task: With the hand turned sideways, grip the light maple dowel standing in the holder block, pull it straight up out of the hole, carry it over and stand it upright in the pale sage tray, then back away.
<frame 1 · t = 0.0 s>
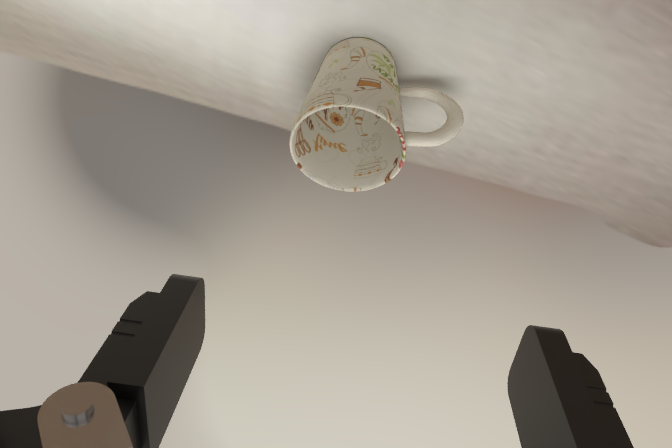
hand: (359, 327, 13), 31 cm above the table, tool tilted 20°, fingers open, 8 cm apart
mug: (385, 69, 44), on the table
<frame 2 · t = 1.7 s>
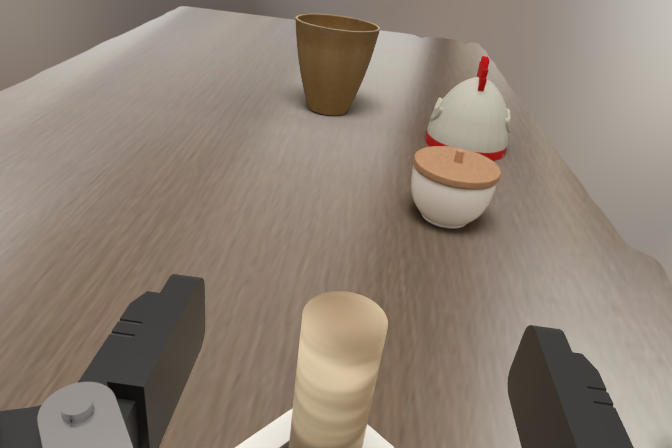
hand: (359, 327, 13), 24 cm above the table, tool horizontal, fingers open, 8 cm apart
dowel: (329, 416, 31), in the holder block
lidded jar: (443, 218, 70), on the table
plant pot: (328, 110, 102), on the table
chicken shaped dome: (464, 146, 94), on the table
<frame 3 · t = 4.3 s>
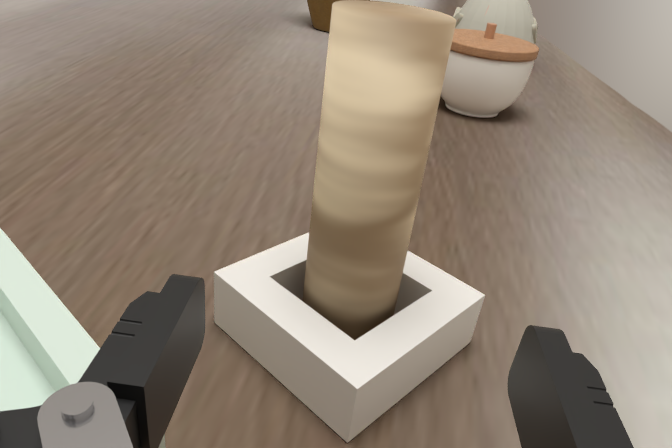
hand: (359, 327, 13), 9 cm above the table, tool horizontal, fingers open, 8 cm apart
dowel: (364, 198, 23), in the holder block
lidded jar: (471, 110, 62), on the table
holder block: (344, 332, 26), on the table
plant pot: (334, 30, 94), on the table
chicken shaped dome: (485, 62, 85), on the table
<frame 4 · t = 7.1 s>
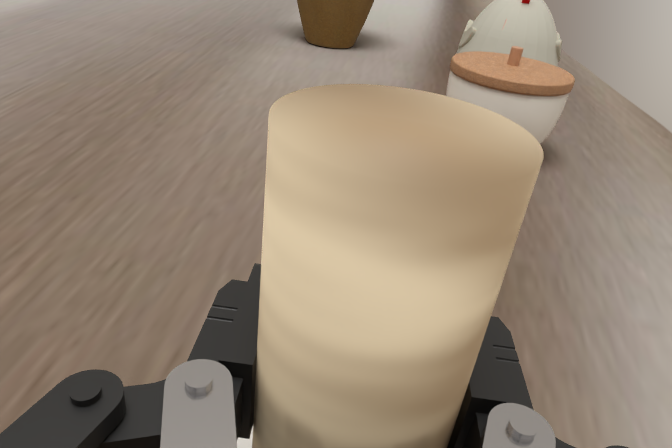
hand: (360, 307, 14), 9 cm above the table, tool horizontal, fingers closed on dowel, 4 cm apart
dowel: (348, 430, 12), in the holder block, touching gripper
lidded jar: (489, 149, 51), on the table
plant pot: (330, 44, 83), on the table
chicken shaped dome: (500, 82, 75), on the table
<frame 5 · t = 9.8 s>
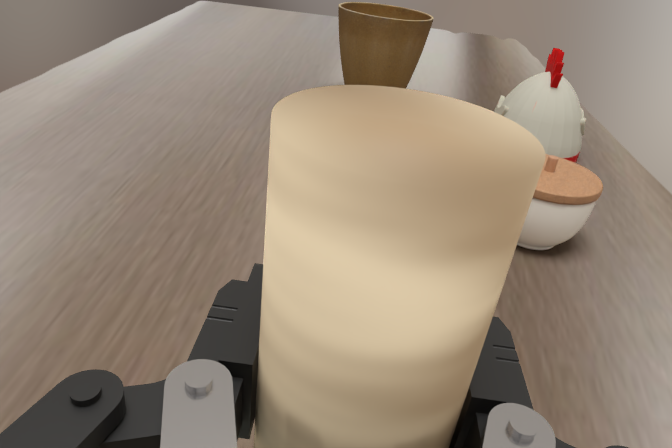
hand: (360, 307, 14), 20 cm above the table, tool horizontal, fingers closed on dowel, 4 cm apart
dowel: (349, 431, 12), point 18 cm above the table, touching gripper
lidded jar: (526, 236, 59), on the table
plant pot: (371, 110, 92), on the table
chicken shaped dome: (528, 150, 83), on the table
when the fingers open (11 cm above the table, at t = 12.9 s): dowel drops 1 cm, resting on tray.
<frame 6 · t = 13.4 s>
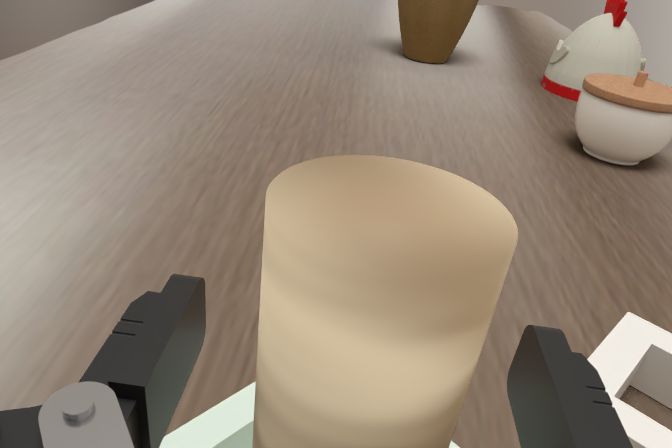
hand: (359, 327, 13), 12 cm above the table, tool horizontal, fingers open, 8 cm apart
lidded jar: (609, 156, 61), on the table
holder block: (667, 445, 26), on the table
plant pot: (425, 59, 93), on the table
chicken shaped dome: (585, 94, 85), on the table
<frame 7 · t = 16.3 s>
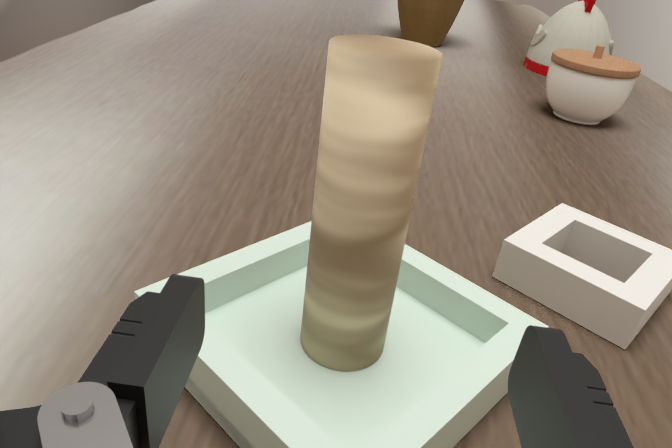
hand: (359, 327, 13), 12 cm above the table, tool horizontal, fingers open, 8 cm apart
dowel: (360, 215, 24), in the tray, point 8 cm above the table
lidded jar: (575, 118, 72), on the table
holder block: (581, 284, 37), on the table
plant pot: (421, 43, 104), on the table
tray: (339, 352, 29), on the table
chicken shaped dome: (562, 73, 96), on the table
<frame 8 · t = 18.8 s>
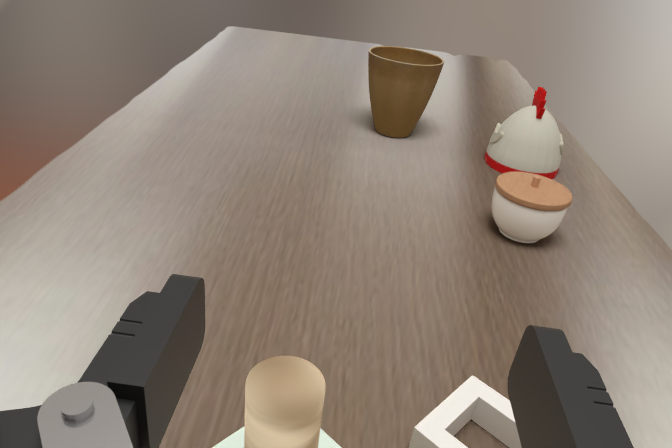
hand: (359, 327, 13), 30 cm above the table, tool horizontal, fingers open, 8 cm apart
lidded jar: (518, 233, 81), on the table
plant pot: (392, 132, 113), on the table
chicken shaped dome: (519, 166, 105), on the table
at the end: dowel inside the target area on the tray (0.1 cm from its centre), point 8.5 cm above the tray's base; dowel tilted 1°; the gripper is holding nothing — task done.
